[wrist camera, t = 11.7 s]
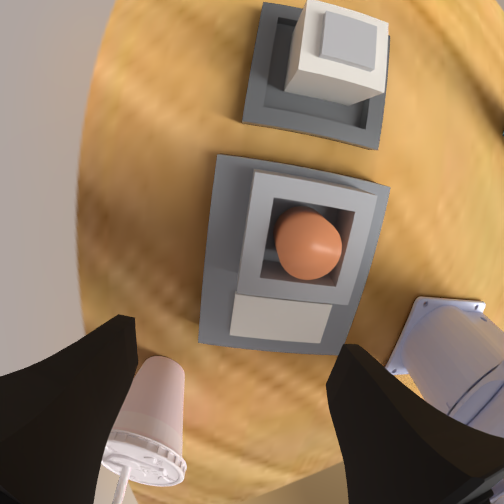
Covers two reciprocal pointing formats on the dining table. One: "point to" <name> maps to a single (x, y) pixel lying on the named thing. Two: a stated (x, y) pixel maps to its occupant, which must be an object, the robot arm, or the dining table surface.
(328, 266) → the button
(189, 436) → the dining table surface
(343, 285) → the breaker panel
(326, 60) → the block
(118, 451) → the smoothie
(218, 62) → the dining table surface
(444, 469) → the robot arm
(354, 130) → the tray
